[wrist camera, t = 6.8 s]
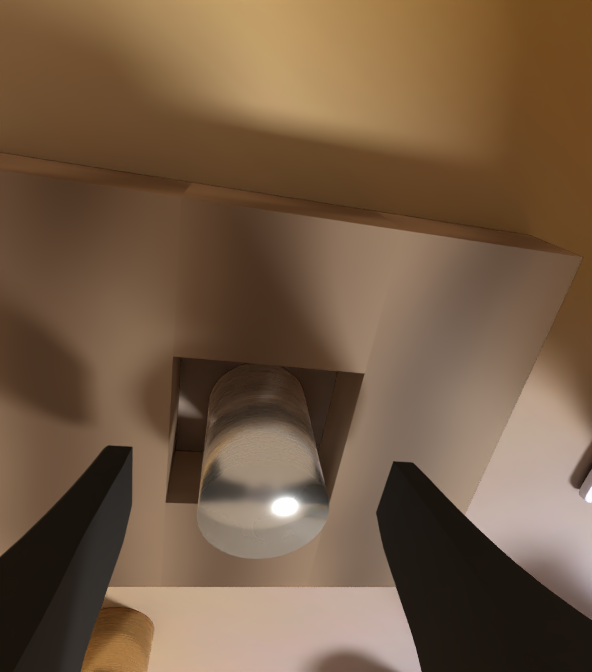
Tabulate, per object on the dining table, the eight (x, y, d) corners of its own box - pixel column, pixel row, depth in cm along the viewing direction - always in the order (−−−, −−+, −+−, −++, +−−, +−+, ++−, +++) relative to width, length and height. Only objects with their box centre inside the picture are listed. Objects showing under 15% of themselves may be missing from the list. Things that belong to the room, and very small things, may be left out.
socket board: (530, 235, 14) (583, 257, 12) (410, 535, 20) (431, 587, 18) (-13, 150, 11) (-74, 159, 9) (35, 526, 17) (5, 586, 15)
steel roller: (316, 371, 16) (346, 473, 11) (291, 447, 17) (308, 563, 13) (219, 354, 15) (210, 455, 11) (201, 434, 16) (186, 553, 12)
